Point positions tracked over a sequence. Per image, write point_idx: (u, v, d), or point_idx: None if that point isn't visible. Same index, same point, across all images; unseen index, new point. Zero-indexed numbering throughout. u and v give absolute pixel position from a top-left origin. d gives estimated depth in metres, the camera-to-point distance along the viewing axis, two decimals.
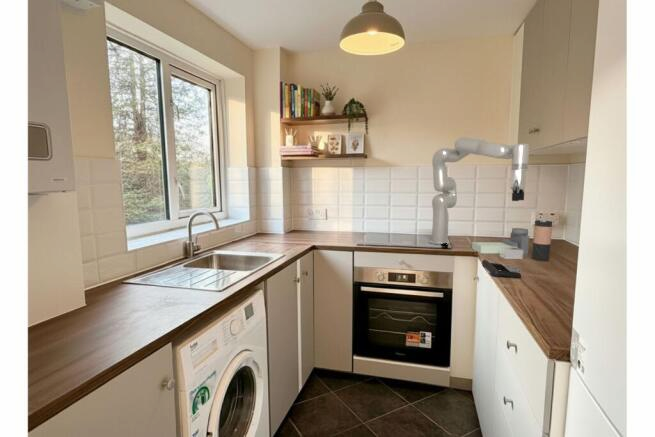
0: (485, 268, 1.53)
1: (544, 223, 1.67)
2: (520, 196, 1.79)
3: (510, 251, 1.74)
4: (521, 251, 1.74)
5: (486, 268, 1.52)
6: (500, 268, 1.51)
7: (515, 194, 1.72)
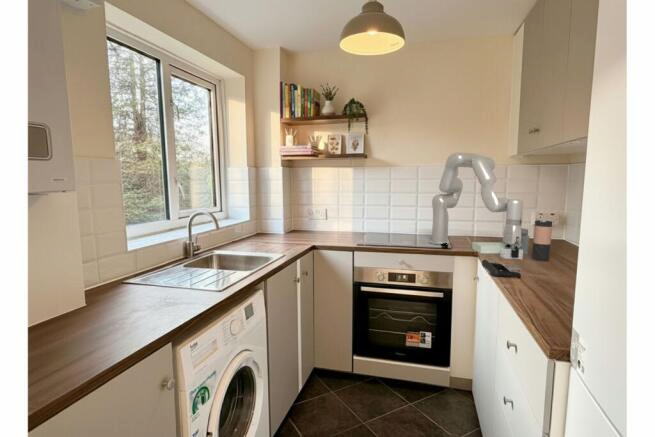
0: (485, 268, 1.54)
1: (544, 223, 1.67)
2: None
3: (509, 250, 1.74)
4: (521, 251, 1.73)
5: (486, 268, 1.52)
6: (500, 268, 1.51)
7: (516, 251, 1.72)
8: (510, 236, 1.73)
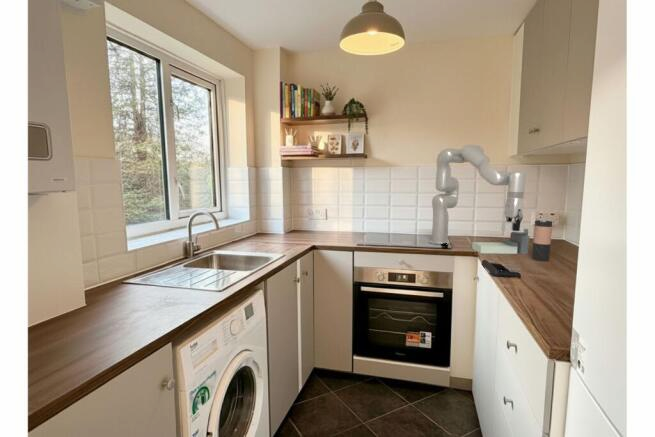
0: (485, 268, 1.54)
1: (544, 223, 1.67)
2: None
3: (510, 224, 1.73)
4: (522, 224, 1.72)
5: (486, 268, 1.52)
6: (500, 268, 1.52)
7: (518, 224, 1.71)
8: (512, 209, 1.71)
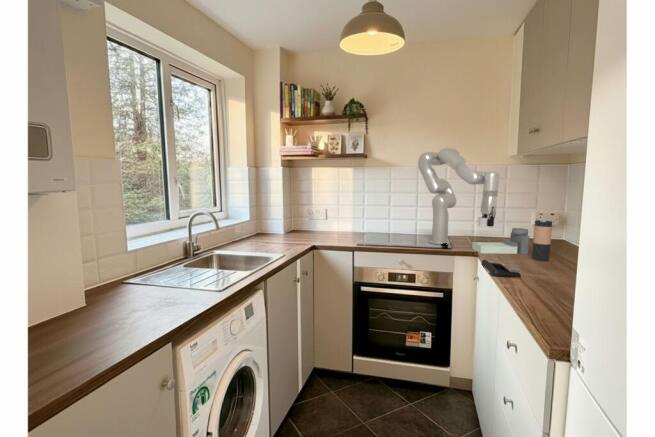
0: (485, 268, 1.54)
1: (544, 223, 1.67)
2: None
3: (485, 220, 1.87)
4: (496, 220, 1.86)
5: (486, 268, 1.52)
6: (499, 268, 1.52)
7: (491, 220, 1.85)
8: (486, 206, 1.86)
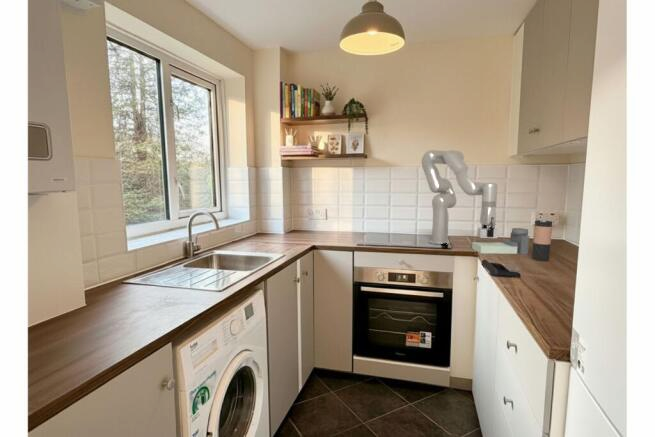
0: (485, 268, 1.54)
1: (544, 223, 1.67)
2: None
3: (485, 230, 1.88)
4: (496, 230, 1.87)
5: (486, 268, 1.52)
6: (499, 268, 1.52)
7: (491, 231, 1.86)
8: (485, 217, 1.87)
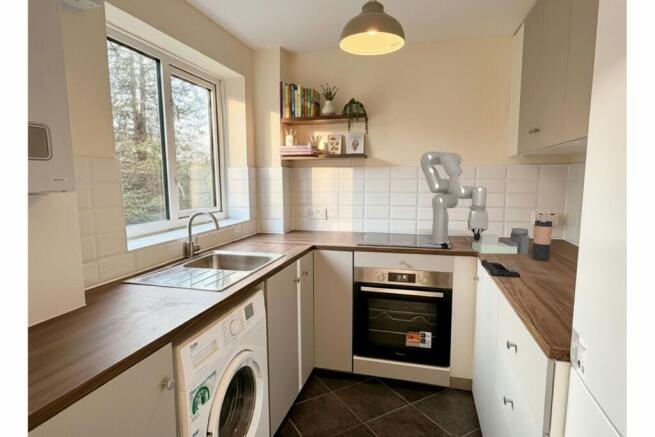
0: (484, 267, 1.55)
1: (544, 223, 1.67)
2: None
3: (486, 238, 1.89)
4: (497, 238, 1.88)
5: (485, 267, 1.53)
6: (499, 267, 1.52)
7: None
8: (485, 221, 1.87)
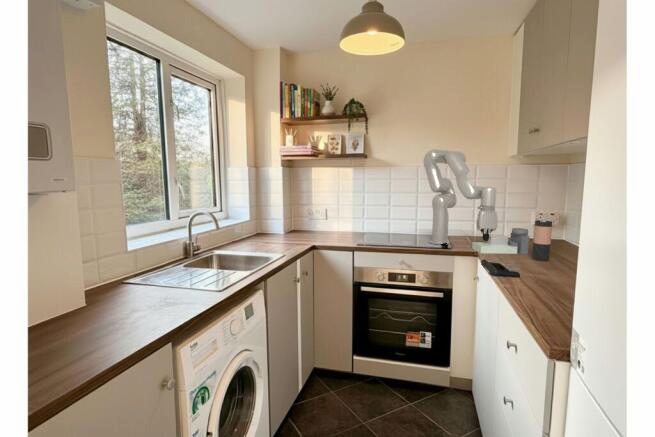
0: (484, 267, 1.55)
1: (544, 223, 1.67)
2: None
3: (496, 238, 1.88)
4: (506, 238, 1.88)
5: (485, 267, 1.53)
6: (499, 267, 1.52)
7: None
8: (494, 221, 1.87)
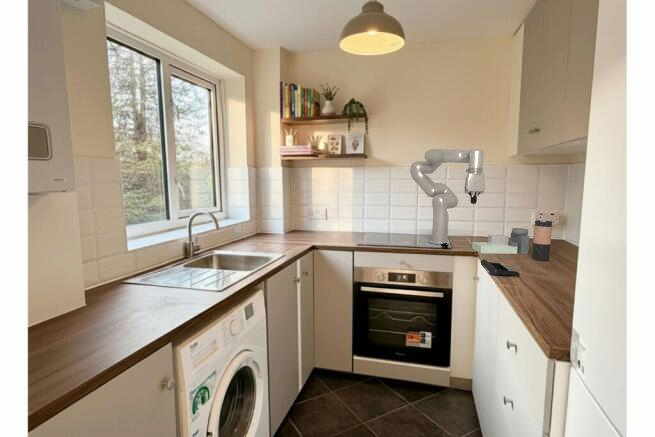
0: (484, 267, 1.55)
1: (544, 223, 1.67)
2: None
3: (496, 238, 1.88)
4: (507, 238, 1.88)
5: (485, 267, 1.53)
6: (499, 267, 1.53)
7: None
8: (482, 183, 1.88)
